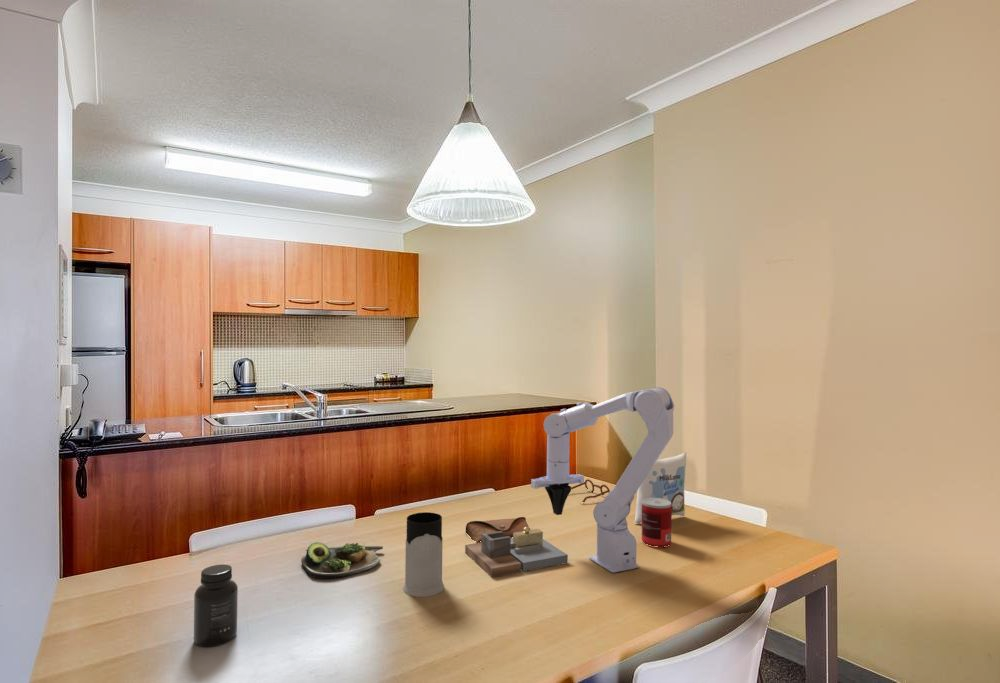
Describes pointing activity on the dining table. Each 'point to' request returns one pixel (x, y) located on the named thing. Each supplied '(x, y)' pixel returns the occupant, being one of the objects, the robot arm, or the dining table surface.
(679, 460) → the pouch
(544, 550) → the door leaf
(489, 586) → the dining table surface
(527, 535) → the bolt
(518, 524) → the sunglasses case
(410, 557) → the glass holder
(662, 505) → the canned food
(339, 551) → the salad plate
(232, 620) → the supplement bottle
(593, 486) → the glasses
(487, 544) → the panel
